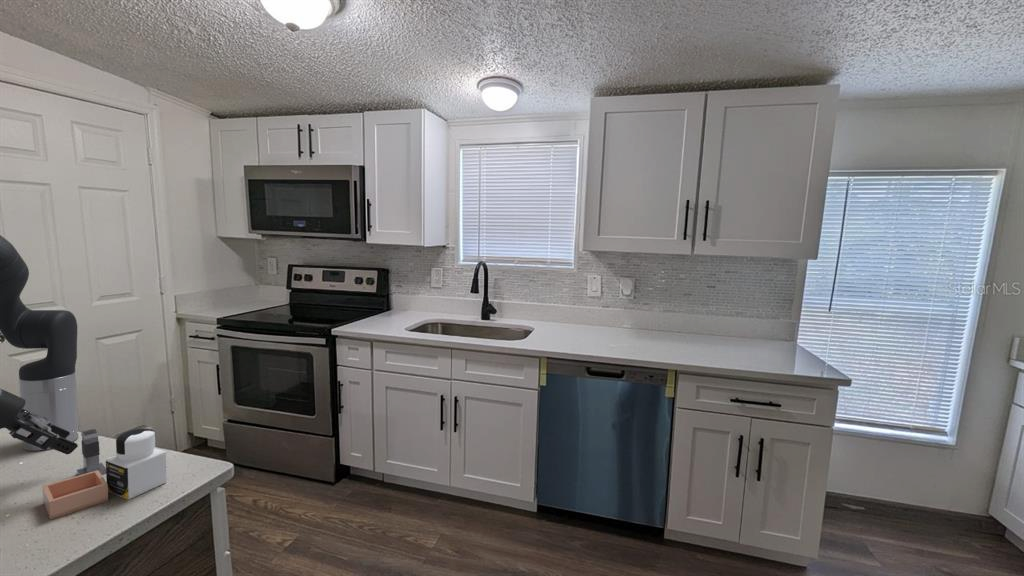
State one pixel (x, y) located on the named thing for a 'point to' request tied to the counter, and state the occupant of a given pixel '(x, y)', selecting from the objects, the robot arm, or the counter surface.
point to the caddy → (74, 494)
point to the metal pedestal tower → (90, 453)
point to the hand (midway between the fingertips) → (69, 443)
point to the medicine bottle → (135, 464)
